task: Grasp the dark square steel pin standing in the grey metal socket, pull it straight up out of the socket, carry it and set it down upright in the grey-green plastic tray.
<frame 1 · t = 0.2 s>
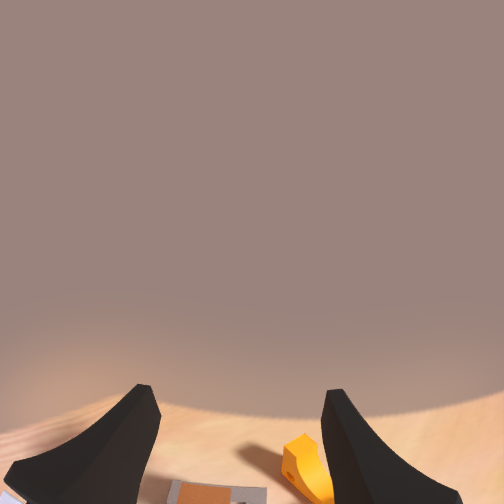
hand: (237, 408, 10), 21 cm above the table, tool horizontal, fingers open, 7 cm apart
pipe clamp: (331, 495, 20), on the table
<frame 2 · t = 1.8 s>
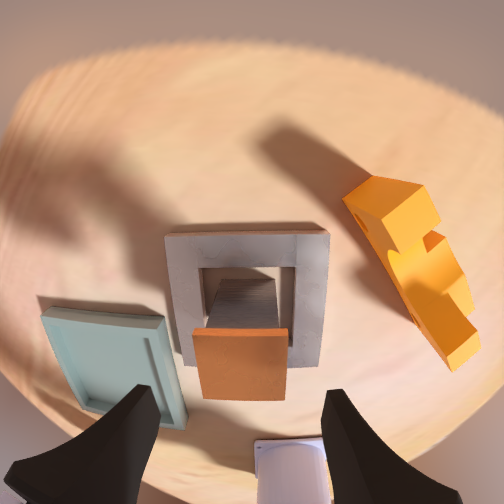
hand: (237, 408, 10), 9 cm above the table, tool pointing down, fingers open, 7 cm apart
pin: (248, 303, 19), resting in socket
pipe clamp: (407, 250, 18), on the table
socket: (248, 303, 19), on the table
tray: (117, 367, 22), on the table
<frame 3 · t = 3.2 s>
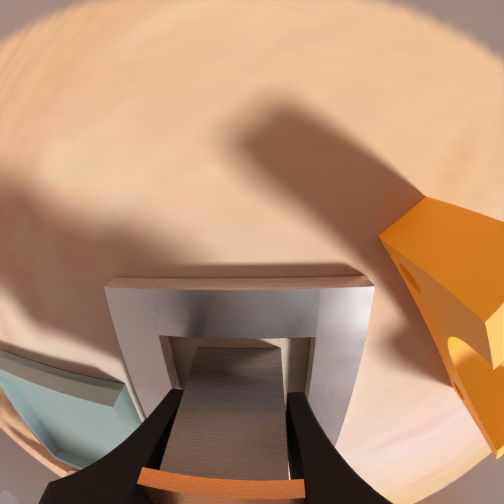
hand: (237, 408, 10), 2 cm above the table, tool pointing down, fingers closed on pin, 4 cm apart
pin: (240, 377, 12), resting in socket, touching gripper
pipe clamp: (459, 301, 11), on the table
socket: (240, 378, 12), on the table
tray: (82, 425, 15), on the table
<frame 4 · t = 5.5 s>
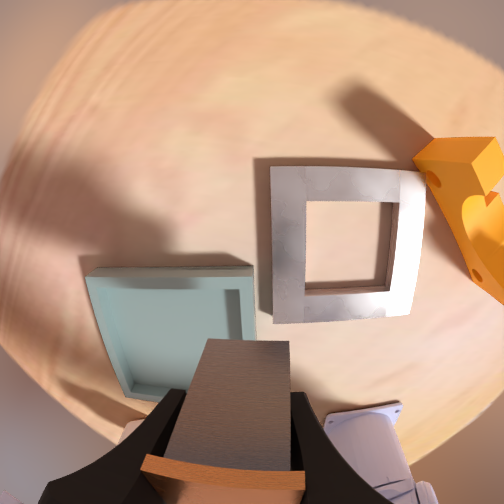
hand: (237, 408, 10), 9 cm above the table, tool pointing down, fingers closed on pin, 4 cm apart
pin: (249, 369, 12), point 7 cm above the table, touching gripper
pipe clamp: (464, 208, 17), on the table
socket: (348, 245, 18), on the table
tray: (179, 338, 20), on the table
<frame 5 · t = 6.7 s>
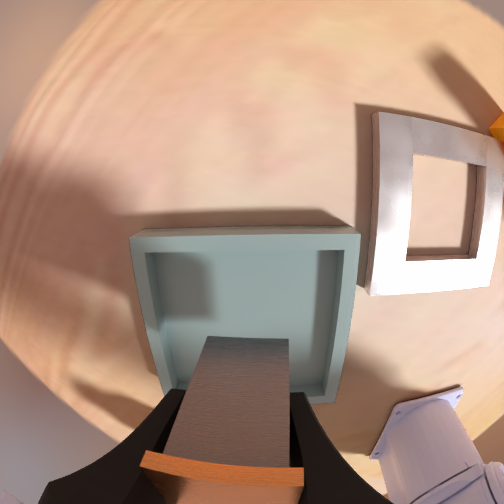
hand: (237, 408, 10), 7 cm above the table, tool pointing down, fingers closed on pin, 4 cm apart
pin: (248, 367, 12), point 5 cm above the table, touching gripper
socket: (442, 208, 14), on the table
tray: (247, 321, 17), on the table
when the fingers open (3 cm above the table, at t = 7.9 s): pin stays where it is, resting on tray.
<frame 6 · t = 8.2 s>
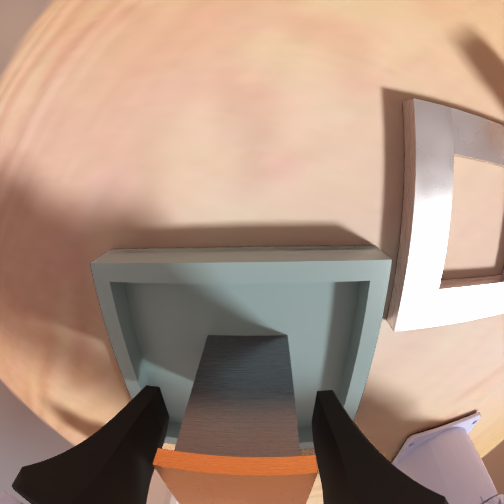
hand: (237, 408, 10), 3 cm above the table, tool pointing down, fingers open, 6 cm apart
pepper shaker: (178, 466, 18), on the table
pin: (248, 365, 13), point 1 cm above the table, touching tray
socket: (480, 221, 11), on the table
tray: (242, 360, 13), on the table
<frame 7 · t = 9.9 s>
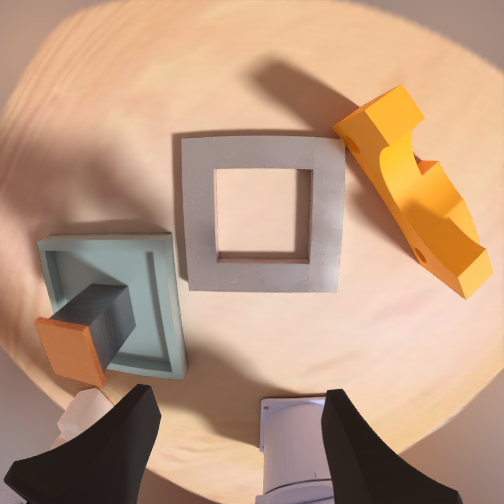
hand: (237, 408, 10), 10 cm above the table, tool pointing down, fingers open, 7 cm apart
pepper shaker: (99, 398, 25), on the table
pin: (113, 305, 20), point 1 cm above the table, touching tray
pipe clamp: (402, 182, 18), on the table
socket: (263, 214, 18), on the table
tray: (113, 303, 21), on the table
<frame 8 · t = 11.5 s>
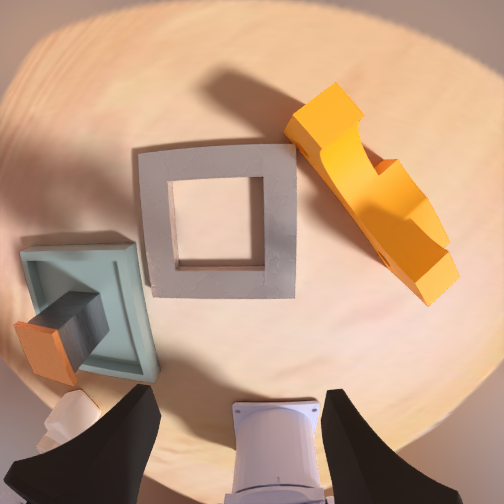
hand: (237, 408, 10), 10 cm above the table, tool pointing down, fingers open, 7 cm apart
pepper shaker: (84, 400, 26), on the table
pin: (88, 310, 21), point 1 cm above the table, touching tray
pipe clamp: (363, 183, 18), on the table
socket: (218, 223, 19), on the table
tray: (89, 309, 21), on the table
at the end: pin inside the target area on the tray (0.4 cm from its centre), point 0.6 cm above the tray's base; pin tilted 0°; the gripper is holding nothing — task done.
